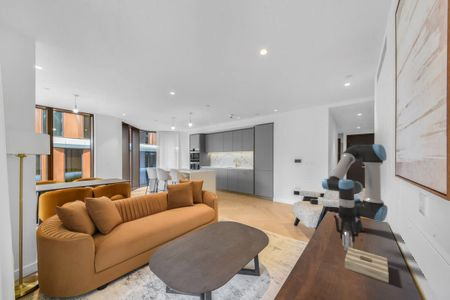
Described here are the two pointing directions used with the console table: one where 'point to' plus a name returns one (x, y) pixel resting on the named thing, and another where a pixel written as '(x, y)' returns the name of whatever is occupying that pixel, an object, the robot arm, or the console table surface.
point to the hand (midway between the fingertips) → (347, 245)
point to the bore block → (367, 264)
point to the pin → (347, 240)
